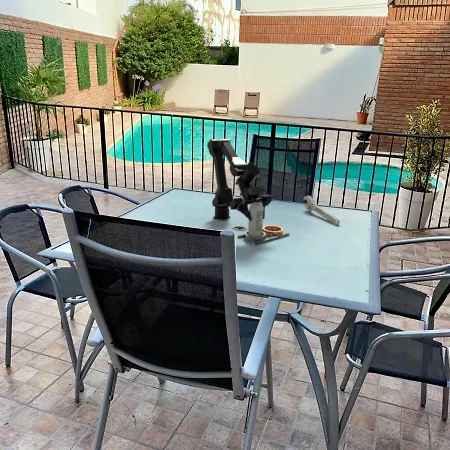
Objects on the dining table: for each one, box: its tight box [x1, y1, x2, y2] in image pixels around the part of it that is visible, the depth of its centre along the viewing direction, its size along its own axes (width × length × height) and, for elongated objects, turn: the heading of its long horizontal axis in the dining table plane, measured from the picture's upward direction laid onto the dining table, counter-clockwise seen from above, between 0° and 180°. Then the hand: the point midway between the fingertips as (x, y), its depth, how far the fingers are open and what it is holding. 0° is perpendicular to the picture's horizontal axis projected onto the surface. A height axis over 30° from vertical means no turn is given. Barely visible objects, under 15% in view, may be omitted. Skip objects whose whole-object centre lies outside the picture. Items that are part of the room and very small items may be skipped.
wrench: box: [303, 195, 341, 226], centre depth 221 cm, size 8×2×30 cm
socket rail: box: [237, 224, 290, 246], centre depth 189 cm, size 21×12×2 cm, turn 132°
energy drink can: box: [247, 202, 264, 237], centre depth 183 cm, size 6×6×15 cm
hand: (257, 219), depth 182 cm, fingers closed on energy drink can, 6 cm apart
